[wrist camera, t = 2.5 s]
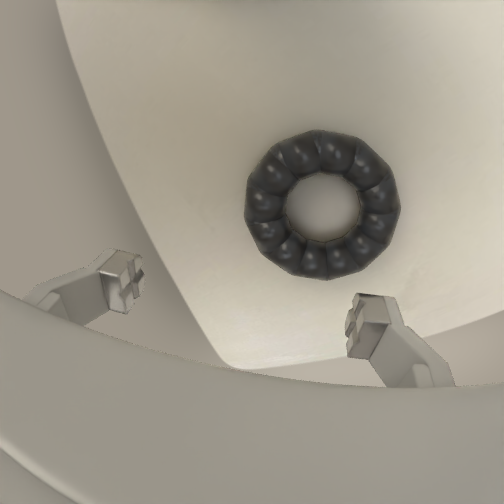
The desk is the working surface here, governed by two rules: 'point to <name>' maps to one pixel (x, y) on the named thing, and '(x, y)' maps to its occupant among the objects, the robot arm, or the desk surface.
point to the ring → (309, 164)
